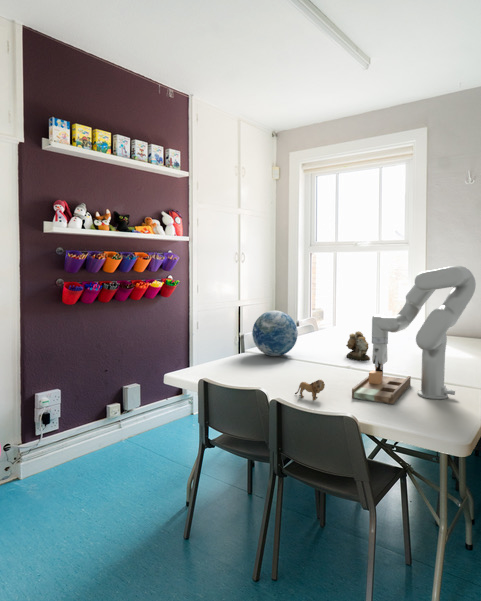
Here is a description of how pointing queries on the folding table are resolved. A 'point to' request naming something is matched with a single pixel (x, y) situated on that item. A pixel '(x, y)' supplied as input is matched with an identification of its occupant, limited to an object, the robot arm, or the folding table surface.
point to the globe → (274, 333)
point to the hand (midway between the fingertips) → (379, 377)
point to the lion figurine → (311, 388)
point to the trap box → (381, 390)
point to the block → (375, 377)
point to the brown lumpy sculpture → (357, 347)
